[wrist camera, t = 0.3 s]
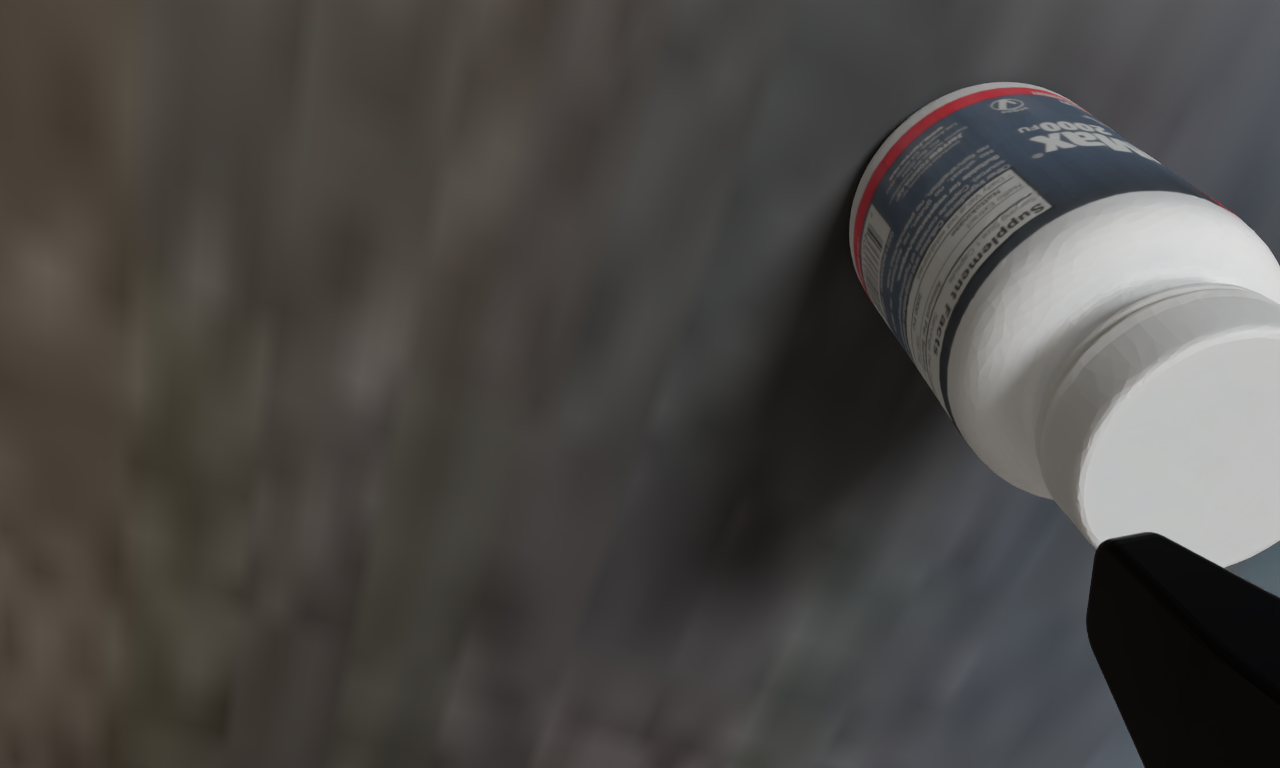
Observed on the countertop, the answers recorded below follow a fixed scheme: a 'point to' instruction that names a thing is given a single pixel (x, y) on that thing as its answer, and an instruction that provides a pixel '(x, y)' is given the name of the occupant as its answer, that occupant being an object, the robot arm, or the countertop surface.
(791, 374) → the countertop surface
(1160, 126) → the countertop surface
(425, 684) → the countertop surface
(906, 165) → the pill bottle
